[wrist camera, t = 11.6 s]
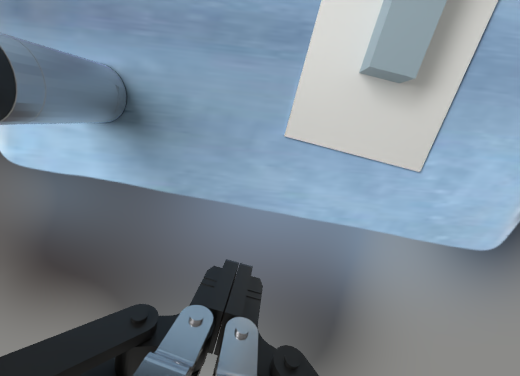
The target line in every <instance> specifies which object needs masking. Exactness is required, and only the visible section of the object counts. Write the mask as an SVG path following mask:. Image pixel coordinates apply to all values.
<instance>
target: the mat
mask: <svg viewBox="0 0 520 376" xmlns="http://www.w3.org/2000/svg"><path fill="white" fill-rule="evenodd" d="M383 1H384V0H322V1H321V5H320V8H319V12H318V16H317V19H316V23H315V26H314V30H313V34H312V37H311V41H310V45H309V48H308V52H307V55H306V59H305V63H304V66H303V70H302V74H301V77H300V81H299V84H298V88H297V92H296V95H295V99H294V103H293V106H292V110H291V113H290V117H289V121H288V124H287V128H286V132H285V135H284V136H285V137H289V138H293V139H297V140H300V141H304V142H308V143H312V144H316V145H319V146H323V147H327V148H331V149H334V150H338V151H342V152H346V153H350V154H353V155H357V156H361V157H365V158H368V159H372V160H376V161H380V162H384V163H387V164H391V165H395V166H399V167H402V168H406V169H410V170H414V171H417V172H420V171H421V169H422V166H423V164H424V162H425V160H426V158H427V155H428V153H429V151H430V149H431V147H432V144H433V142H434V140H435V138H436V136H437V133H438V131H439V129H440V127H441V125H442V122H443V120H444V118H445V116H446V114H447V112H448V109H449V107H450V105H451V103H452V101H453V98H454V96H455V94H456V92H457V90H458V87H459V85H460V83H461V81H462V79H463V76H464V74H465V72H466V70H467V68H468V65H469V63H470V61H471V59H472V57H473V54H474V52H475V50H476V48H477V46H478V43H479V41H480V39H481V37H482V35H483V33H484V30H485V28H486V26H487V24H488V22H489V19H490V17H491V15H492V13H493V11H494V8H495V6H496V4H497V2H498V0H447V1H446V4H445V6H444V9H443V11H442V14H441V16H440V19H439V21H438V24H437V26H436V29H435V31H434V34H433V36H432V39H431V41H430V44H429V46H428V48H427V51H426V53H425V56H424V58H423V61H422V63H421V66H420V68H419V71H418V73H417V76H416V78H415V79H412V80H409V81H405V82H402V83H396V82H392V81H388V80H384V79H381V78H377V77H373V76H369V75H365V74H361V73H359V71H360V68H361V66H362V63H363V60H364V57H365V54H366V51H367V48H368V45H369V42H370V39H371V36H372V33H373V30H374V27H375V24H376V21H377V18H378V15H379V12H380V9H381V7H382V4H383Z"/></svg>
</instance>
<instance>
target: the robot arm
mask: <svg viewBox="0 0 520 376" xmlns="http://www.w3.org/2000/svg"><path fill="white" fill-rule="evenodd" d="M125 106H126V90H125V87H124V84H123V82H122V80H121V78H120V77H119V75H118V74H117V73H116V72H115V71H114V70H113V69H111V68H110V67H108V66H106V65H104V64H101V63H98V62H94V61H91V60H88V59H85V58H82V57H78V56H75V55H72V54H68V53H65V52H62V51H59V50H55V49H52V48H49V47H45V46H42V45H39V44H36V43H32V42H29V41H26V40H22V39H19V38H16V37H12V36H9V35H6V34H2V33H0V125H12V124H57V123H107V122H112V121H114V120H116V119H117V118H118V117H119V116H120V115H121V114H122V113H123V111H124V108H125ZM238 265H239V263H238V262H234V261H231V260H226V261H225V263H224V266H223V268H220V267H216V266H213V267H212V268H210V269H209V270H207V272H206V274H205V276H204V279H203V280H202V282H201V284H200V286H199V288H198V290H197V292H196V294H195V296H194V298H193V300H192V302H191V304H190V306H188V307H186V308H185V309H183V310H182V312H181V313H180V314H177V315H173V316H158V312H157V310H156V309H155V308H154V307H152V306H150V305H146V304H138V305H134V306H131V307H129V308H126V309H123V310H121V311H118V312H115V313H113V314H110V315H108V316H105V317H103V318H100V319H97V320H95V321H92V322H90V323H87V324H85V325H82V326H79V327H77V328H74V329H72V330H69V331H66V332H64V333H61V334H59V335H56V336H54V337H51V338H48V339H46V340H43V341H41V342H38V343H36V344H33V345H30V346H28V347H25V348H22V349H20V350H18V351H15V352H12V353H9V354H7V355H4V356H2V357H0V376H199V374H200V371H201V368H202V366H203V364H204V362H205V359H206V356H207V353H211V354H212V353H213V350H214V347H215V344H216V340H217V337H218V340H217V345H216V348H215V352H214V354H215V355H218V357H217V361H216V364H215V368H214V372H213V376H318V374H317V373H316V371H315V370H314V369H313V367H312V366H311V364H310V363H309V362H308V360H307V359H306V358H305V356H304V355H303V354H302V353H301V352H300V351H299V350H298V349H296V348H294V347H292V346H287V345H285V346H280V347H279V348H277V349H276V348H274V347H273V346H271V345H269V344H268V343H267V342H266V341H264V339H262V337H261V336H260V334H259V331H258V318H259V309H260V303H261V294H262V287H263V286H262V283H261V281H260V279H259V278H256V277H252V276H251V272H252V266H249V265H245V264H242V263H240V265H239V268H238ZM237 269H238V271H237ZM236 272H237V274H236ZM235 276H236V278H235ZM234 280H235V281H234ZM221 324H222V325H221ZM220 327H221V329H220ZM219 331H220V333H219ZM218 334H219V336H218Z"/></svg>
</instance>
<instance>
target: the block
mask: <svg viewBox="0 0 520 376" xmlns="http://www.w3.org/2000/svg"><path fill="white" fill-rule="evenodd" d="M446 1H447V0H384V1H383V4H382V7H381V9H380V12H379V15H378V18H377V21H376V24H375V27H374V30H373V33H372V36H371V39H370V42H369V45H368V48H367V51H366V54H365V57H364V60H363V63H362V66H361V68H360V71H359V73H361V74H365V75H369V76H373V77H377V78H381V79H384V80H388V81H392V82H396V83H402V82H405V81H409V80H412V79H415V78H416V76H417V73H418V71H419V68H420V66H421V63H422V61H423V58H424V56H425V53H426V51H427V48H428V46H429V44H430V41H431V39H432V36H433V34H434V31H435V29H436V26H437V24H438V21H439V19H440V16H441V14H442V11H443V9H444V6H445V4H446Z"/></svg>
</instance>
